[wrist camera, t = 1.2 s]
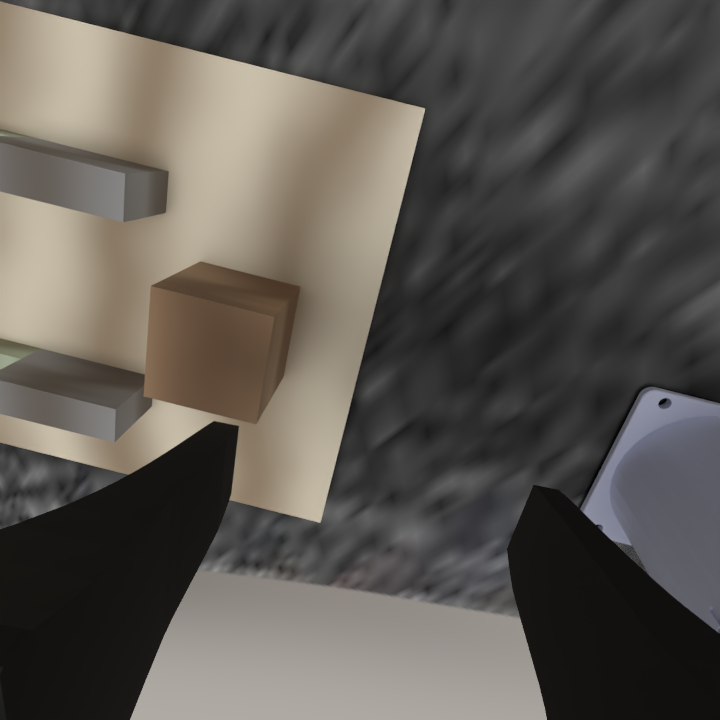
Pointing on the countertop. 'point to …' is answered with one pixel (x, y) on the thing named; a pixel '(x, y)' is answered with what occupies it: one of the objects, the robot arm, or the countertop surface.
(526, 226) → the countertop surface
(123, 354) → the board
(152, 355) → the walnut block
